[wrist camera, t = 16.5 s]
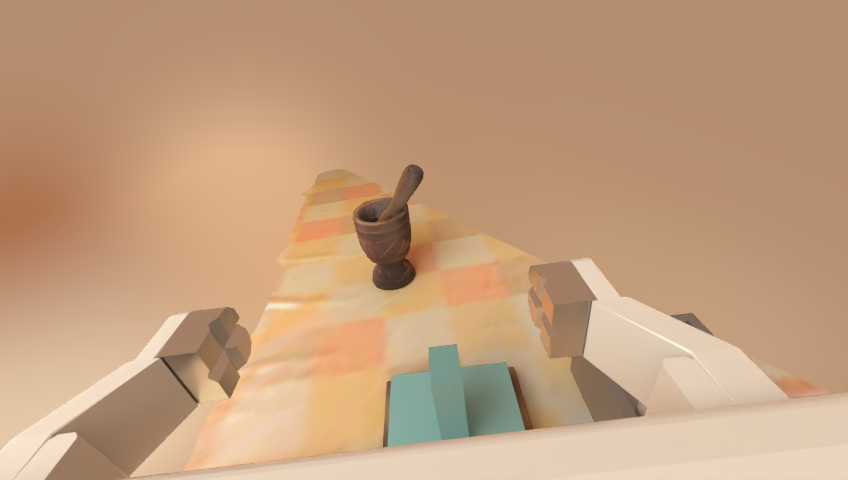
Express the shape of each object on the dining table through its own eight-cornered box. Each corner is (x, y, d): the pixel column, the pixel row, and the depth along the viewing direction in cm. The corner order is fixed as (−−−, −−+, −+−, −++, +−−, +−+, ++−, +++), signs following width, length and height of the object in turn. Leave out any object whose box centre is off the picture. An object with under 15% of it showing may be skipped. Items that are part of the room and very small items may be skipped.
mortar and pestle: (434, 255, 64) (418, 149, 54) (440, 285, 57) (423, 169, 46) (371, 266, 64) (343, 161, 54) (370, 297, 57) (337, 183, 46)
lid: (542, 507, 29) (549, 434, 24) (388, 522, 30) (358, 454, 24) (506, 374, 40) (504, 302, 35) (394, 387, 41) (374, 318, 35)
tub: (765, 470, 30) (799, 425, 27) (623, 484, 31) (638, 441, 27) (676, 357, 40) (692, 313, 37) (570, 369, 41) (576, 327, 37)
